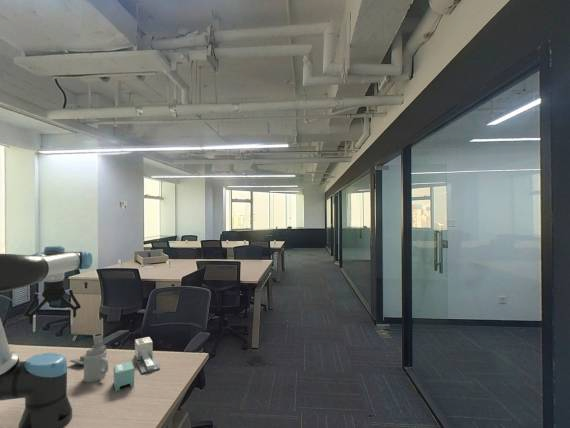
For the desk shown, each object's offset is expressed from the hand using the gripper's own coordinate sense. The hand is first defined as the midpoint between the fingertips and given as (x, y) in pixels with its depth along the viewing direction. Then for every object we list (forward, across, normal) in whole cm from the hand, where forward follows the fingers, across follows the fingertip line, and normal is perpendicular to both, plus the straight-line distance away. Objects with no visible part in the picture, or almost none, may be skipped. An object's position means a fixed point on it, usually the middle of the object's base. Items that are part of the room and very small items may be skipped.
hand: (53, 327), depth 139 cm
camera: (+23, -16, -12) cm, 30 cm away
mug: (+23, -16, +10) cm, 30 cm away
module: (+23, -25, +24) cm, 41 cm away
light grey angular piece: (+23, -37, +8) cm, 45 cm away
